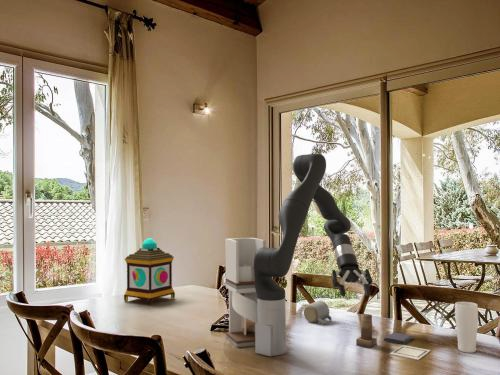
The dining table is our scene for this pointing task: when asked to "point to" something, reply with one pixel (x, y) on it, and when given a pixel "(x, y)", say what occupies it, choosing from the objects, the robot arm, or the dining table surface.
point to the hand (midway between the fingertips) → (356, 295)
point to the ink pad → (398, 338)
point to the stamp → (366, 332)
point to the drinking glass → (466, 325)
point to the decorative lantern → (149, 273)
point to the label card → (410, 352)
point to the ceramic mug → (317, 312)
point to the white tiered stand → (242, 289)
